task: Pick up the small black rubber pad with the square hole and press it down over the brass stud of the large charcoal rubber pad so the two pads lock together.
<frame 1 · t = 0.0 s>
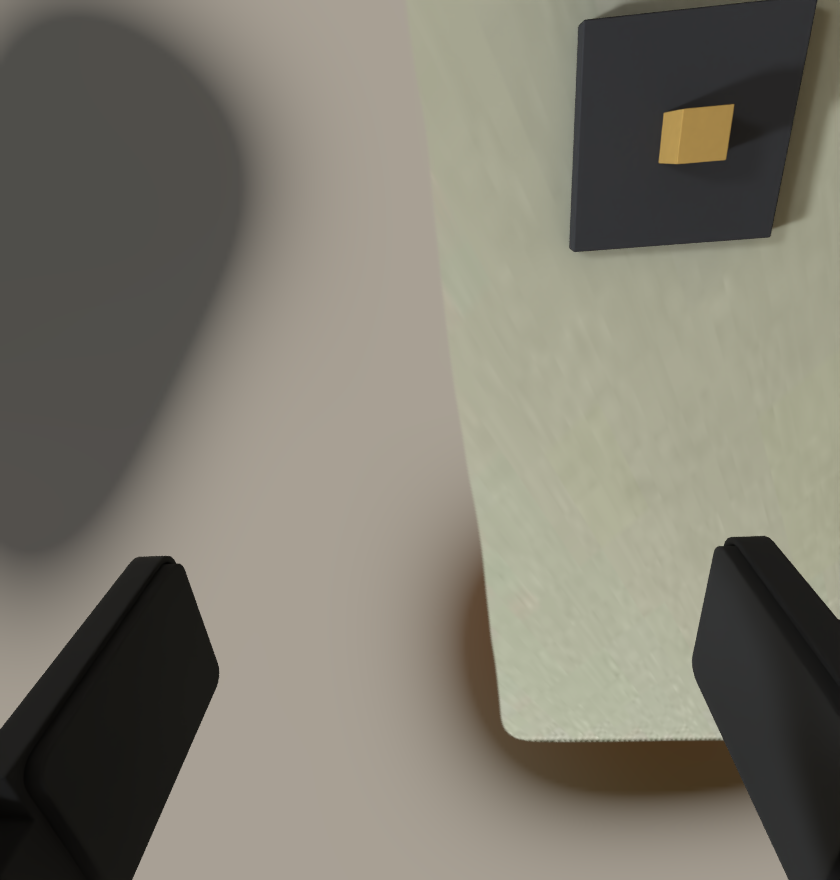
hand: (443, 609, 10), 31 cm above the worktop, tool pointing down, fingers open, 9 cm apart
charcoal stud pad: (674, 136, 33), on the worktop
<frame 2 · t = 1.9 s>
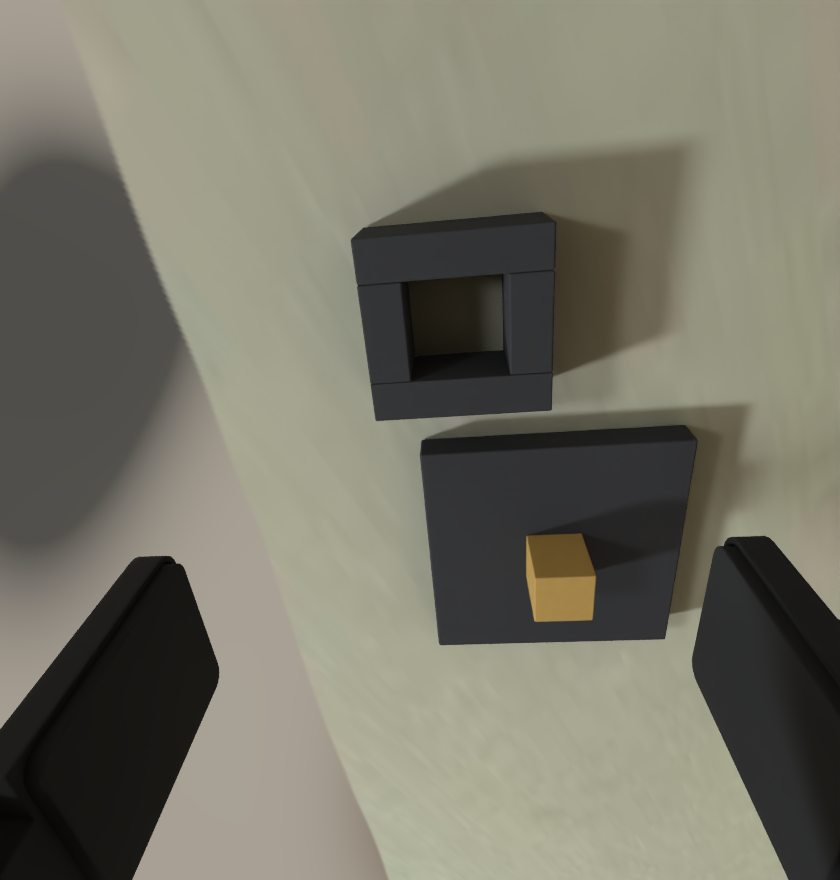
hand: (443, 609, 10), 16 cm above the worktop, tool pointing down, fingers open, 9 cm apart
black hole pad: (456, 309, 23), on the worktop
charcoal stud pad: (548, 536, 28), on the worktop
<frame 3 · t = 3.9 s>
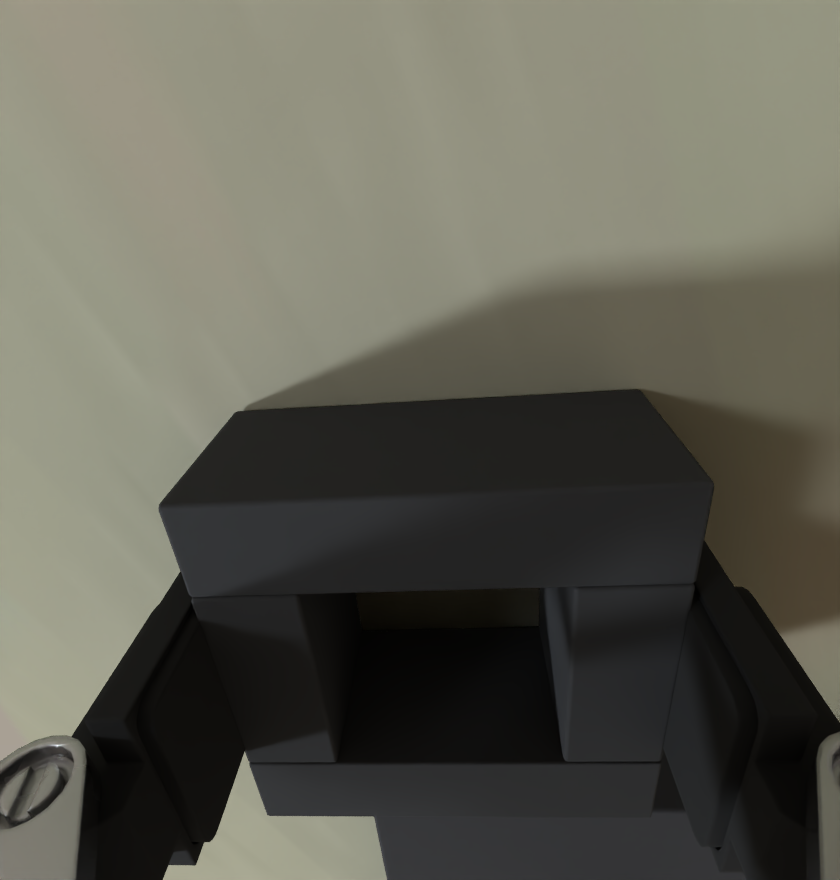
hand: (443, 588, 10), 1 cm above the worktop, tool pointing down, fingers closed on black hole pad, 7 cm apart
black hole pad: (444, 559, 11), on the worktop, touching gripper
charcoal stud pad: (603, 875, 16), on the worktop
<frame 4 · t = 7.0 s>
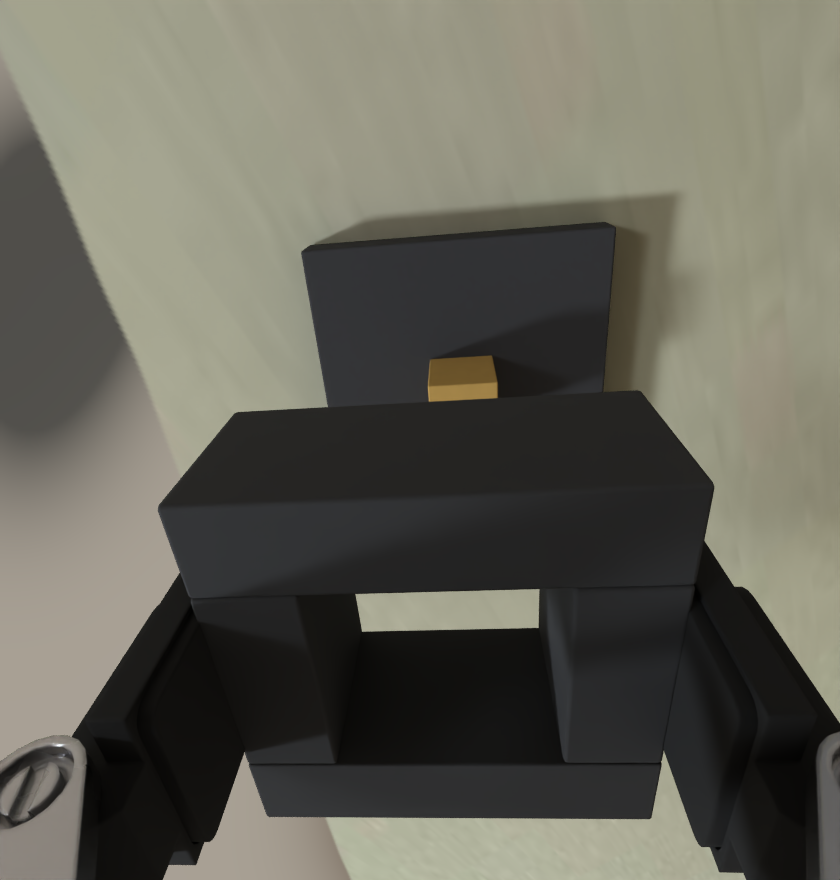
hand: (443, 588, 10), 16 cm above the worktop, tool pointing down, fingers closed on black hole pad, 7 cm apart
black hole pad: (443, 559, 11), point 15 cm above the worktop, touching gripper
charcoal stud pad: (461, 372, 25), on the worktop
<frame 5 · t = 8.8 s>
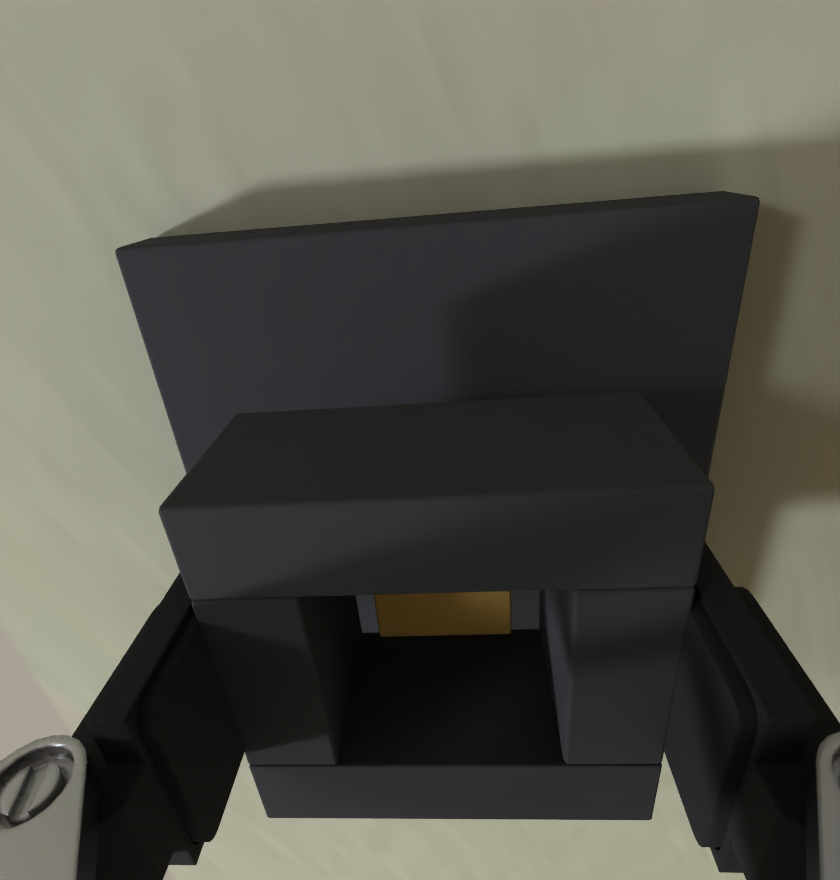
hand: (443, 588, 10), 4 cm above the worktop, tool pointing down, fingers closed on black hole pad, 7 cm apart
black hole pad: (444, 560, 11), point 4 cm above the worktop, touching gripper
charcoal stud pad: (443, 464, 14), on the worktop
when the fingers open (2 cm above the worktop, at t = 10.1 s): black hole pad stays where it is, resting on charcoal stud pad.
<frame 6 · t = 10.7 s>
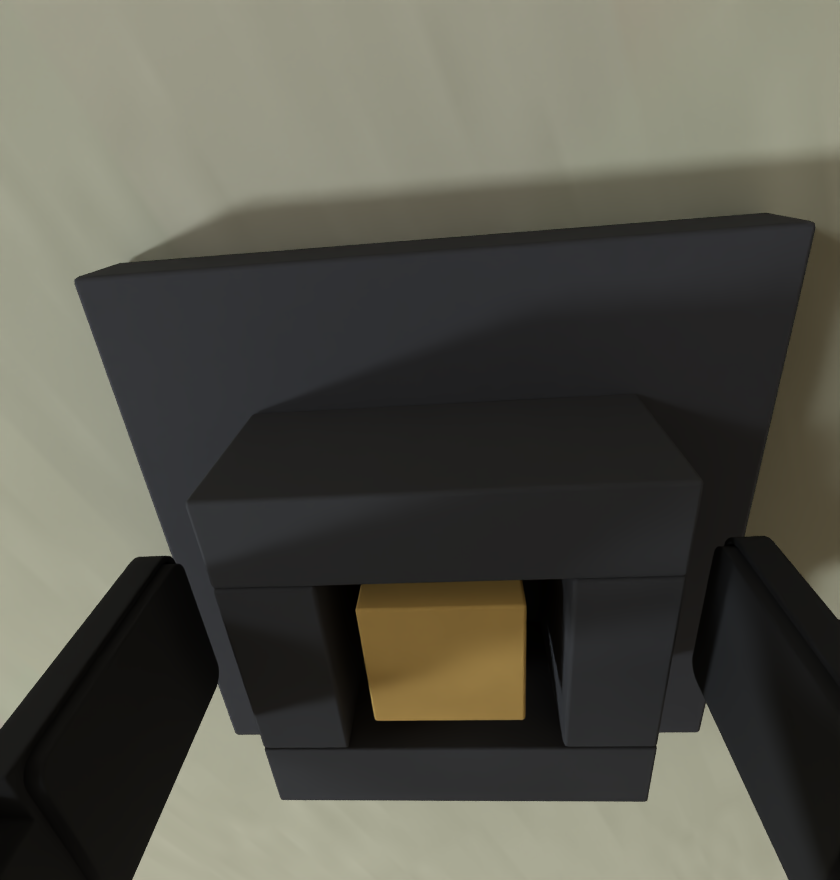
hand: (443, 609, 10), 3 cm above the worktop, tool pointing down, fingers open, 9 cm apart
black hole pad: (449, 555, 12), point 2 cm above the worktop, touching charcoal stud pad
charcoal stud pad: (446, 509, 13), on the worktop, touching black hole pad
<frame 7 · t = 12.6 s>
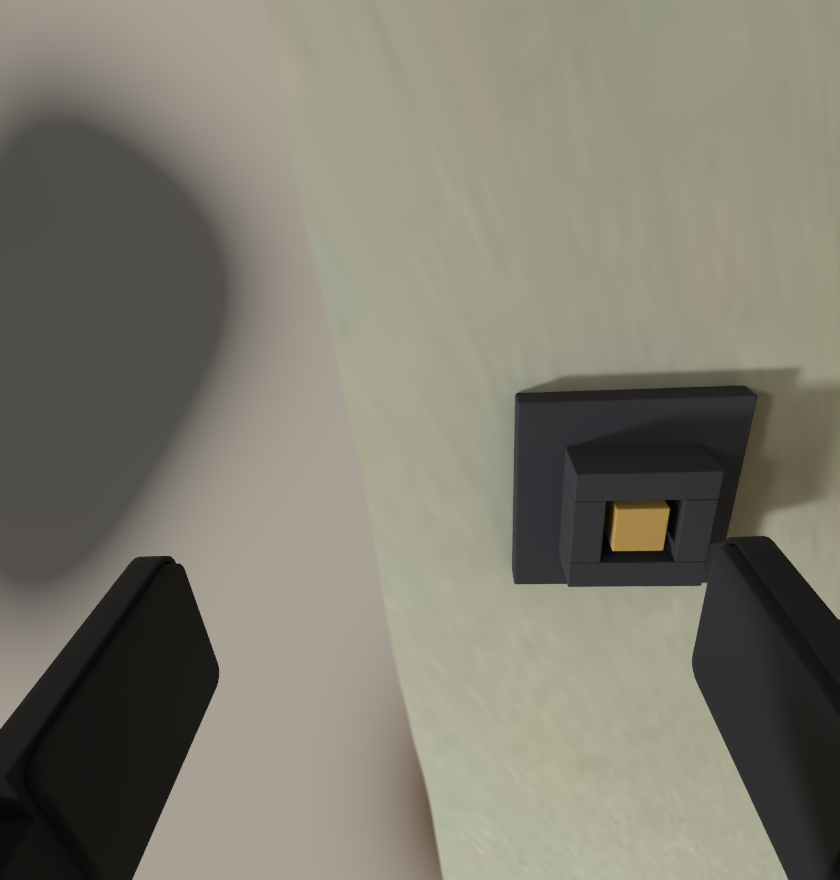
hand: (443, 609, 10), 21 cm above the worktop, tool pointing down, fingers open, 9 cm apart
black hole pad: (625, 501, 31), point 2 cm above the worktop, touching charcoal stud pad
charcoal stud pad: (617, 485, 32), on the worktop, touching black hole pad
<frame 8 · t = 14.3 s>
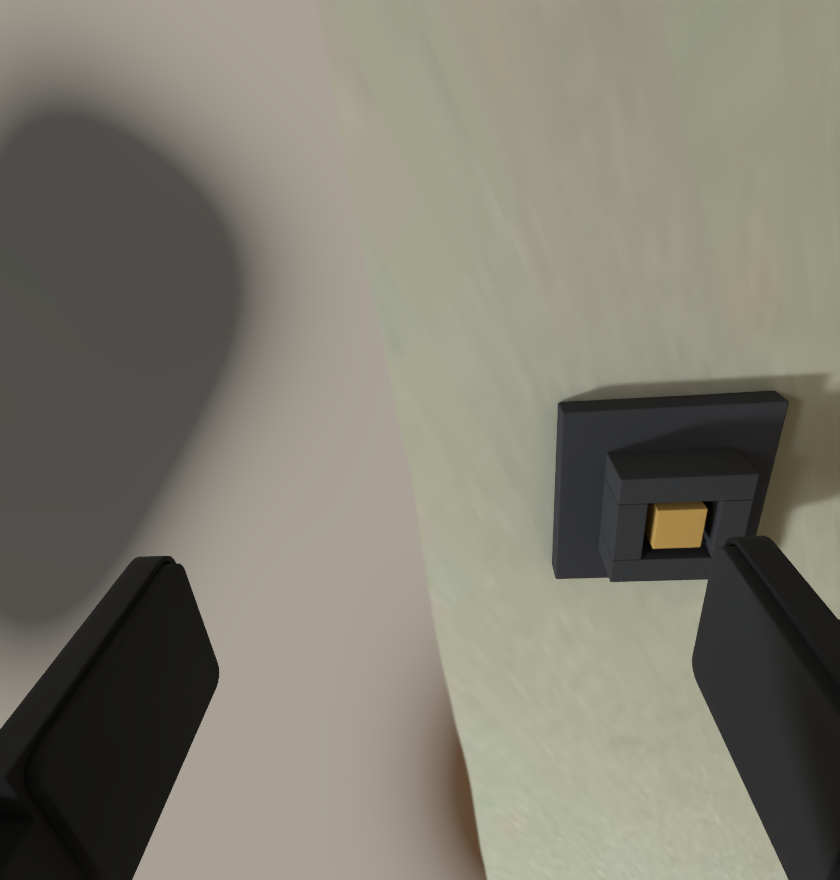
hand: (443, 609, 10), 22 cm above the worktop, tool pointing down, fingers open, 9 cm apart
black hole pad: (661, 500, 33), point 2 cm above the worktop, touching charcoal stud pad
charcoal stud pad: (653, 485, 34), on the worktop, touching black hole pad
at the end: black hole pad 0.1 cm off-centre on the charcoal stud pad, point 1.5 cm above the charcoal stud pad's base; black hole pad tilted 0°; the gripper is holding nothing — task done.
